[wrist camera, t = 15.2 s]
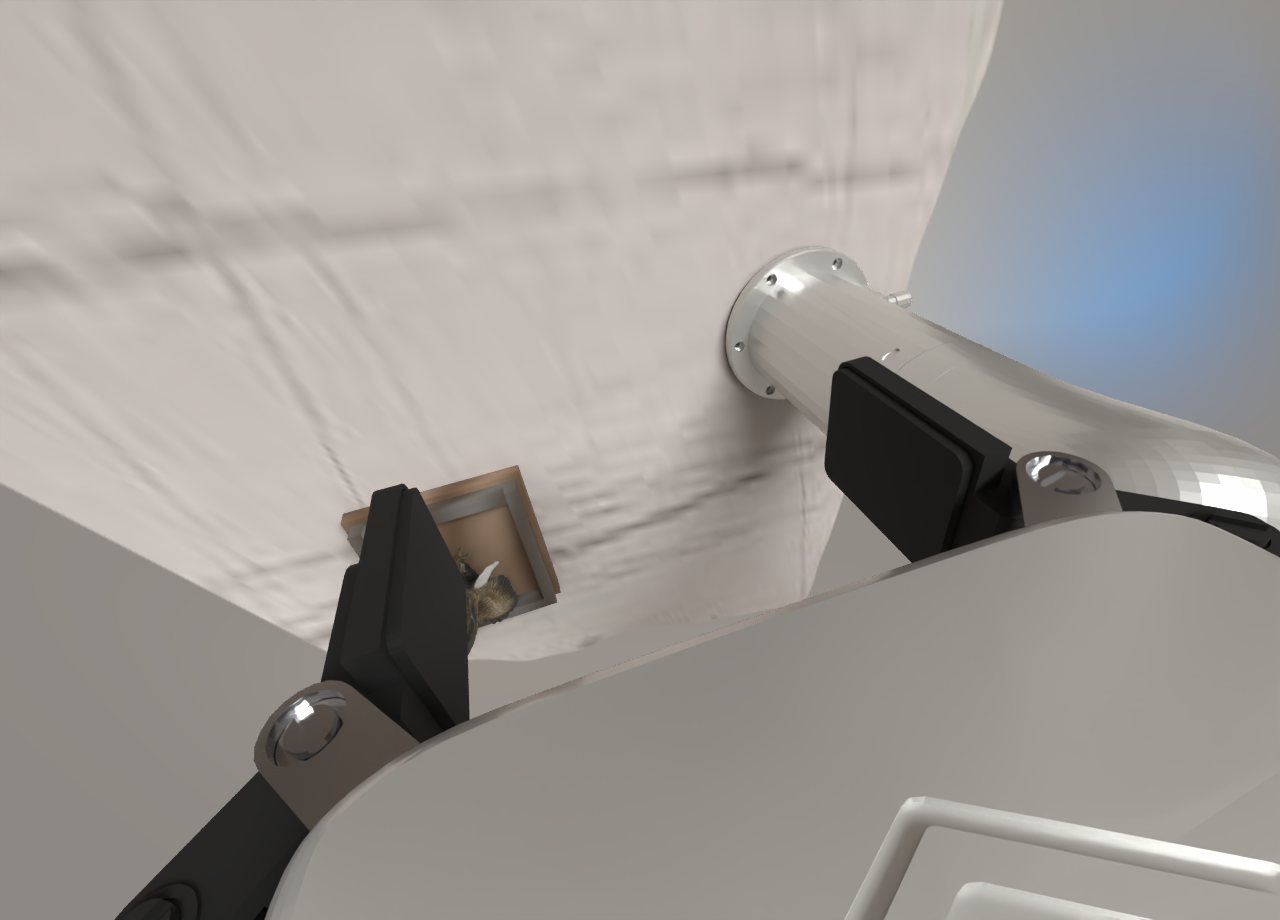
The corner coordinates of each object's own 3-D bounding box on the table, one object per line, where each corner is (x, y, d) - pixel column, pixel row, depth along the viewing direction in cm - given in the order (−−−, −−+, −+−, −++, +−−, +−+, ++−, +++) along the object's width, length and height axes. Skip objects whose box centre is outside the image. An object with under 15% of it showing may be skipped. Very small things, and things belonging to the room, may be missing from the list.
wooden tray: (517, 465, 44) (521, 484, 42) (558, 583, 53) (563, 604, 51) (343, 513, 42) (337, 536, 40) (416, 628, 51) (414, 651, 49)
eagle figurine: (393, 580, 44) (443, 665, 46) (423, 594, 39) (478, 690, 41) (471, 531, 48) (513, 611, 51) (508, 537, 43) (553, 627, 46)
